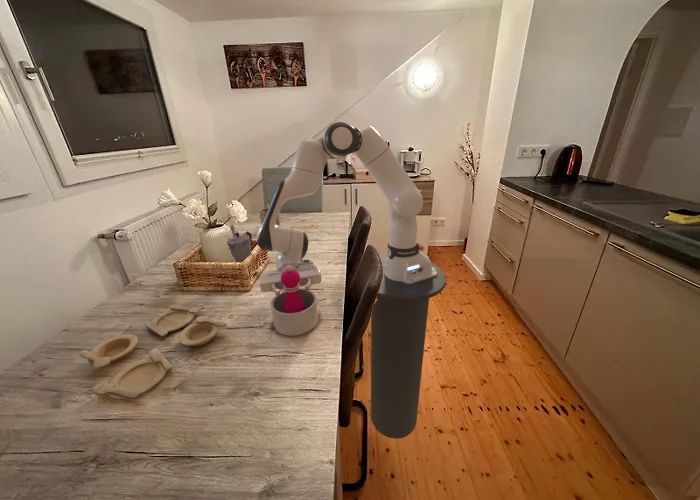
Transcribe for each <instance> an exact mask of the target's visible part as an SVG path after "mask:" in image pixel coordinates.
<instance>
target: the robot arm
mask: <svg viewBox="0 0 700 500" xmlns="http://www.w3.org/2000/svg"><path fill="white" fill-rule="evenodd" d="M351 154H352V155H355V156H356V157H357V158H358V159H359V160H360V162H361V163H362V165H363V166H364V168H365V169H366V171H367V173H368V174H369V175H370V176H371V178H372V179H373V180H374V182H375V184H376V185H377V186H378V188H379V189H380V191H381V192H382V194H383V196H384V197H385V198H386V200H387V201H388V222H389V225H388V227H389V228H388V229H389V230H388V243H387V249H386V250H387V251H386V253H387V256H388V260H387V265H386V269H385V271H384V274H385V276H386V277H387V278H389V279H391V280H394V281H399V282H404V283H407V284H413V283H416V282H419V281H422V280H425V279H429V278H432V277H435V276H437V272H436V270H435V269H434V268H433V267H432V264H431V263H432V260H431V259H432V257H431V256H429V255H427V254H426V253H423V251H424V250H425V246H424V245H422V244H419V243H418V242H417V235H418V233H417V232H418V224H417V215H419V214H420V213H421V211H422V210H423V207H424V200H423V199H424V198H423V195H422V193H421V192H420V190H419V189H418V187H417V186H416V184H415V183H414V181H413V180H412V179H411V177H410V176H409V174H408V173H407V172H406V169H404V167H403V165H402V164H401V163H400V161H399V160H398V158H397V157H396V156H395V154H394V152H393V150H392V149H391V148H390V146H389V145H388V143H387V142H386V141H385V139H384V138H383V136H381V134H380V133H379V132H378V131H377V130H376V129H375V128H374V127H372V126H371V125H364V126H361V127H359V128H357V127H355V126H353V125H351V124H349V123H347V122H343V121H335V122H334V123H331V124H330V125H329V126H328V127H327V128H326V129H325V130H324V132H323V134H322V135H321V137H320V138H318V139H317V138H313V137H307V138H304V139H301V141H300V142H299V143H298V146H297V148H296V151H295V154H294V157H293V161H292V165H291V170H290V172H289V174H288V176H287V177H286V178H285V179H283V180H280V181H279V183H278V184H277V185H276V188H275V190H274V193H273V195H272V197H271V200H270V203H269V207H268V210H267V213H266V215H265V218H264V220H263V223H262V225H261V224H260V227H259V228H258V230H257V233H256V238H255V241H256V245H257V246H258V247H259V248H260V249H261V250H262V251H265V252H266V251H267V252H276V257H275V265H276V271H270V272H269V271H268V272H265V273H263V274H261V275H260V276H259V279H258V280H259V288H260V291H261V292H262V293H269V292H272V293H274V294H275V296H277V295H280V293H281V290H284V287H283V284H282V282H281V275H282V273H283V272H284V271H286V268H287V267H288V266H291V267H292V269H293V270H296V271H297V272H298V273H299V275H300V281H299V286H300V287H304V290H309V291H310V290H311V287H312V286H313V285H318V284H320V283H321V282H322V274H321V271H320V269H319V267H318V266H317V265H316V264H314V261H313V260H312V259H304V258H305V256H306V255H307V252H308V249H309V238H308V235H307V233H306V232H305V230H304V229H301V228H296V227H289V226H284V225H276V224H275V222H276V219H277V217H278V214H279V215H280V212H281V209H282V207H283V204H285V202H287V201H289V200H291V199H297V198H304V197H308V196H312V195H313V194H315V193H316V192H317V191H318V190H319V188H320V186H321V183H322V180H323V175H324V171H325V170H324V169H325V166H326V164H327V161H328V160H337V159H343V158H345V157H347V156H348V155H351Z"/></svg>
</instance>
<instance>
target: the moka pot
mask: <svg viewBox="0 0 700 500" xmlns="http://www.w3.org/2000/svg"><path fill="white" fill-rule="evenodd" d="M235 235H236V236H234V237H232V238H229V239H227V241H226V244H227V247H228V246H229V248H228V250H229V249H230V251H231V254H232V256H233V257H234V259H235V261H234V262H235V263H236V262H242V261H243V260H245V259H246V258H247V257H248V256H249V255H250V254H251V255H252V253H253V252H252V251H253V240H252V239H253V236H252V233H251V232H250V231H248V230H246V231H245V233H242V234H240V233H236V234H235Z"/></svg>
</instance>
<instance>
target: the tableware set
mask: <svg viewBox="0 0 700 500" xmlns="http://www.w3.org/2000/svg"><path fill="white" fill-rule="evenodd" d="M201 310H203V307H202V306H194V307H193V306H192V307H187V306H180V305H175V304H173V305H170V306H169V309H168V310H165V311H163V312H161V313H159V314H158V315H157V316H155V317H154V318H153V319H152V320H151V321H145V322H144V326H145V327H147V328H148V329H149V330H150V332H152V333H154V334H156V335H158V336H160V337H161V338H164V337H166V336H167V335H168V334H169V333H171V332H175V331H178V330H180V329H182V328H184V327H185V326H186V327H185V328H184V329H183V330H181V332H180V333H179V335H178V337H177V340H178V342H179V344H180V345H183V346H185V347H201V346H204V345H207V344H208V343H209V342H210V341H212V339H214V337H215V336H216V335H217V334H218V333H219V332H220V328H226V327H227V326H228V323H227V322H226V321H221V320H215V319H210V317H209V316H208V315H206V314H205V315H200V316H197V318H196V319H195V321H196V322H193V323H191V322H192V321H193V319H194V318H195V314H197V313H199V312H200V311H201ZM190 323H191V324H190ZM188 324H189V325H188ZM187 325H188V326H187ZM138 344H139V337H138V336H137V335H135V334H132V333H131V334H130V333H127V334H126V333H125V334H121V335H116V336H114V337H111V338H108V339H107V340H105V341H102V342H101V343H100V344H98V345H96V346H95V347H94V348H92V349H91V351H88V350H85V349H83V350H80V351H79V352H78V356H79V357H82V358H84V359H86V360H87V361H88V363H90V365H93V367H94V368H96V369H100V368H104V367H106V366H108V365H113V364H116V363H118V362H120V361H122V360H124V359H126V358H127V357H128V356H129V355H130V354H131V352H132V351H133V350H134V349H135V348H136V347H137V346H138ZM148 356H149V357H147V358H143V359H140V360H137V361H135V362H132V363H131V364H129V365H126V366H125V367H124V368H123V369H121V370H120V371H118V372H117V373H116V374H115V375H114V376H113V377H112V378H111V380H110V382H109V383H108V382H103V383H102V384H101V386H98V387H97V389H95V390H93V392H92V393H93V394H95V395H101V396H105V395H108V396H109V397H110V398H112V399H114V400H128V399H132V400H135V399H138V398H139V397H140V396H141V395H142V394H145V393H146V392H148V391H151V390H152V389H153V388H154V387H156V386H157V385H158V384H159V383H160V382H162V380H163V379H164V378H165V376H166V374H167V373H168V372H169V371H170V370H172V369H173V366H172V364H171V362H169V360H167V358H166V357H165V356H164V355H163V354H162V353H161V352H160V350H159V349H158V348H157V347H156V348H153V349H151V350H150V351H149V352H148Z"/></svg>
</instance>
